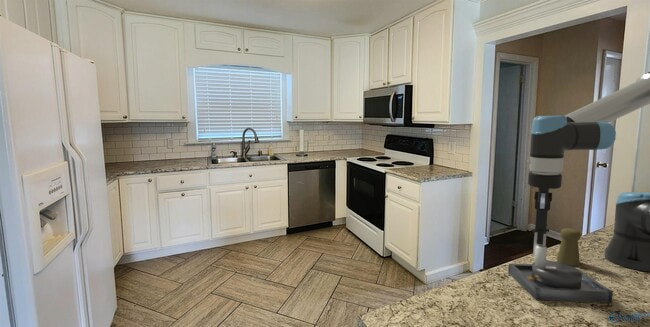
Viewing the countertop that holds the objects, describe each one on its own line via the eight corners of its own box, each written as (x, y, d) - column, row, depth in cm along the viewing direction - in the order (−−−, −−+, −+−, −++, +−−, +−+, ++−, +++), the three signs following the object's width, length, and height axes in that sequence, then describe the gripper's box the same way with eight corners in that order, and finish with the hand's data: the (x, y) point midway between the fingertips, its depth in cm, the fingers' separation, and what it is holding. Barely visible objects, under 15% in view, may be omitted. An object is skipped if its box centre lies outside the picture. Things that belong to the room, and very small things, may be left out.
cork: (584, 266, 99) (587, 233, 97) (562, 265, 100) (565, 232, 99) (573, 258, 105) (575, 226, 103) (553, 257, 106) (555, 226, 105)
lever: (569, 272, 90) (571, 242, 89) (589, 291, 80) (592, 258, 79) (526, 268, 93) (528, 239, 92) (540, 286, 83) (542, 254, 82)
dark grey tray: (571, 274, 93) (572, 265, 93) (611, 303, 79) (612, 291, 78) (508, 272, 95) (508, 263, 95) (536, 300, 80) (536, 289, 80)
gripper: (530, 168, 93) (525, 243, 96) (527, 174, 83) (521, 258, 86) (561, 169, 88) (555, 248, 92) (562, 177, 78) (555, 265, 82)
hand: (538, 253), depth 89 cm, fingers closed
